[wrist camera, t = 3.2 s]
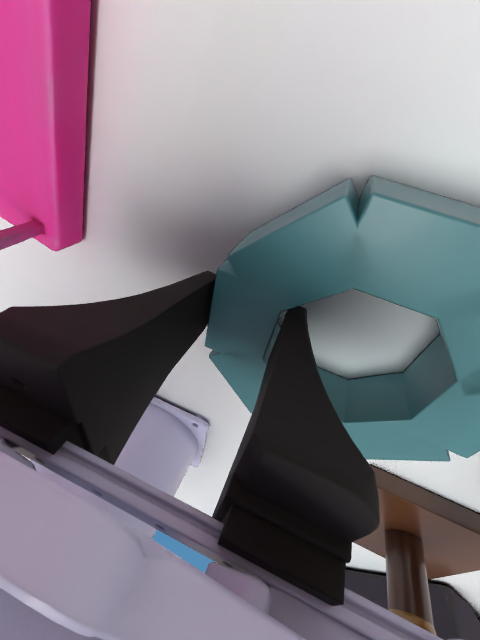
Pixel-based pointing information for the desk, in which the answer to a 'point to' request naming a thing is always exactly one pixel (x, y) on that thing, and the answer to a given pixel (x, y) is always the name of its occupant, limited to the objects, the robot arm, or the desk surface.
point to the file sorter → (43, 119)
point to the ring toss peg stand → (420, 544)
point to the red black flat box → (447, 606)
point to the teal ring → (375, 279)
